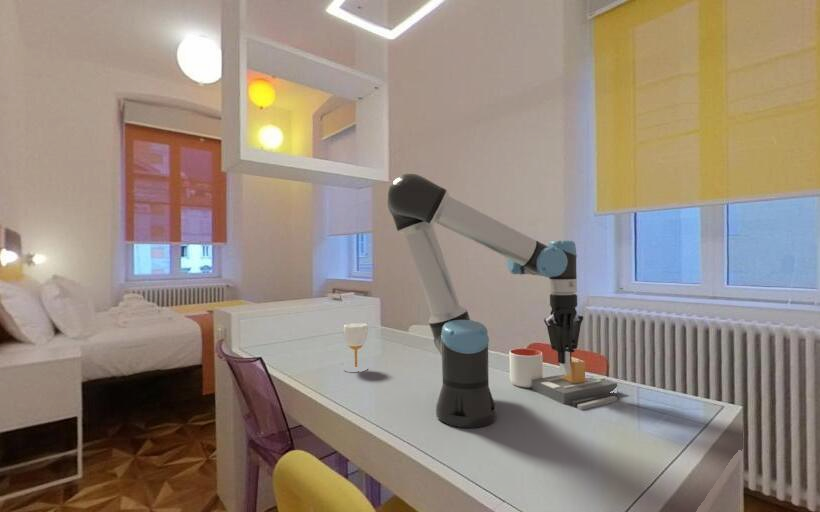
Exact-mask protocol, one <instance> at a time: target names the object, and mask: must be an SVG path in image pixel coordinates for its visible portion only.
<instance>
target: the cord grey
mask: <svg viewBox="0 0 820 512" xmlns="http://www.w3.org/2000/svg"><path fill="white" fill-rule="evenodd" d="M615 402H618V398H617V397H615V396H611V397H606V398H602V399H598V400H594V401H590V402H586V403H582V404H578V405H577V407H576V408H577V409H578V410H579V411H583V410H586V409H591V408H594V407H598V406H602V405H607V404H611V403H615Z"/></svg>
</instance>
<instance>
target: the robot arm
mask: <svg viewBox="0 0 820 512" xmlns="http://www.w3.org/2000/svg"><path fill="white" fill-rule="evenodd" d="M387 206H388V207H387V208H388V211H389V213H390V215H391V216H392V218H393V222H394V224H395V227H396V230H397V232H398V234H401V235H403V236H404V237H405V240H406V244H407V246H408V250H409V252H410V255H411V258H412V260H413V264H414V268H415V270H416V273H417V276H418V278H419V281H420V284H421V288H422V290H423V291H422V292H423V294H424V296H425V298H426V302H427V304H428V307H429V311H430V314H431V315H430V317H429V320H428V324H429V327H430V330H431V333H432V337H433V342H434V345H435V347H436V349H437V350H438V352H439V354H440V356H441V362H442V363H441V364H442V365H441V366H442V368H441V369H442V374H441V375H442V376H441V377H442V384H441V389H440V392H439V395H438V399H437V403H436V405H435V406H436V407H435V415H437V416H436V418H437V417H438V418H439V419H440V420H441V421H443V422H445V423H448V424H450V425H449V426H451V425H454V426H453V427H455V426H460V427H459V428H463V427H469V428H468V429H472V428H473V427H474V428H475V429H476V428H483V427H486V426H489V425H491V424H493V423H494V422H495V421H496V420H497V406H496V404H495V402H494V398H493V395H492V393H491V389H490V386H489V383H490V382H489V341H490V340H489V339H490V338H489V335H488V328H487V327H486V326H485V325H484V324H483V323H482V322H479V321H474V320H473V319H472V320H471V318H470V315H469V312H468V309H467V308H466V307H464V306H462V305H461V304H460V302H459V299H458V297H457V296H458V295H457V294H456V293H457V292H456V291H455V287H454V285H453V282H452V278H451V274H450V273H449V270H448V267H447V263H446V261H445V258H444V255H443V252H442V249H441V246H440V243H439V239H438V237H437V234H436V231H435V228H434V226H435V223H436V224H438V225H439V226H442V227H443V228H446V229H448V230H449V231H452V232H453V233H456V234H457V235H460V236H462V237H464V238H466V239H467V240H469V241H471V242H474V243H476V244H477V245H480V246H482V247H483V248H486V249H488V250H490V251H492V252H494V253H496V254H498V255H499V256H502V257H504V258H506V259H507V268H508V271H509V272H510V274H512V275H520V276H522V275H532V276H540V277H545V278H548V280H549V284H548V286H549V293H550V295H549V306H550V307H551V311H550V315H549V316H548V317H547V318H544V319H543V322H544V324H545V326H546V328H547V334H548V338H549V341H550V342H549V343H550V347H551V350H552V351H553V350H554V351H555V352H557V362H558V364H559V374H560V375H566V376H568V375H571V372H570V362H571V361H572V359H571V358H572V357H573V356H572V353H575V350H577V348H578V345H579V340H580V339H579V337H580V332H581V327H582V326H581V325H582V322H583V320H584V316H582V315H579V314H578V311H577V309H576V308H577V307H578V295H577V294H576V293H577V292H578V284H577V283H578V278H577V276H578V275H577V257H578V255H577V249H576V248H577V247H576V242H575V241H573V240H553V241H552V240H551V241H549V242H548V245H546V244H545V243H542V242H541V241H538V240H536V239H534V238H532V237H530V236H528V235H527V234H525V233H523V232H521V231H519V230H517V229H515V228H513V227H510V226H509V225H507V224H505V223H503V222H501V221H499V220H497V219H495V218H493V217H491V216H489V215H488V214H485V213H483V212H481V211H480V210H477V209H475V208H473V207H472V206H470V205H468V204H466V203H464V202H462V201H460V200H459V199H456V198H455V197H452V196H451V195H450V193H449V191H448V189H446V188H444V187H441V186H440V185H438V184H437V183H434V182H432V181H431V180H429V179H427V178H425V177H423V176H422V175H419V174H416V173H405V174H401V175H399V176H398V177H396V178H394V180H393V181H392V183H391V184H390V186H389V188H388V192H387ZM438 418H437V419H438ZM439 419H438V420H439ZM440 420H439V421H440ZM441 421H440V422H441ZM443 422H442V423H443ZM445 423H444V424H445ZM448 424H447V425H448ZM471 427H472V428H471Z"/></svg>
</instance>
